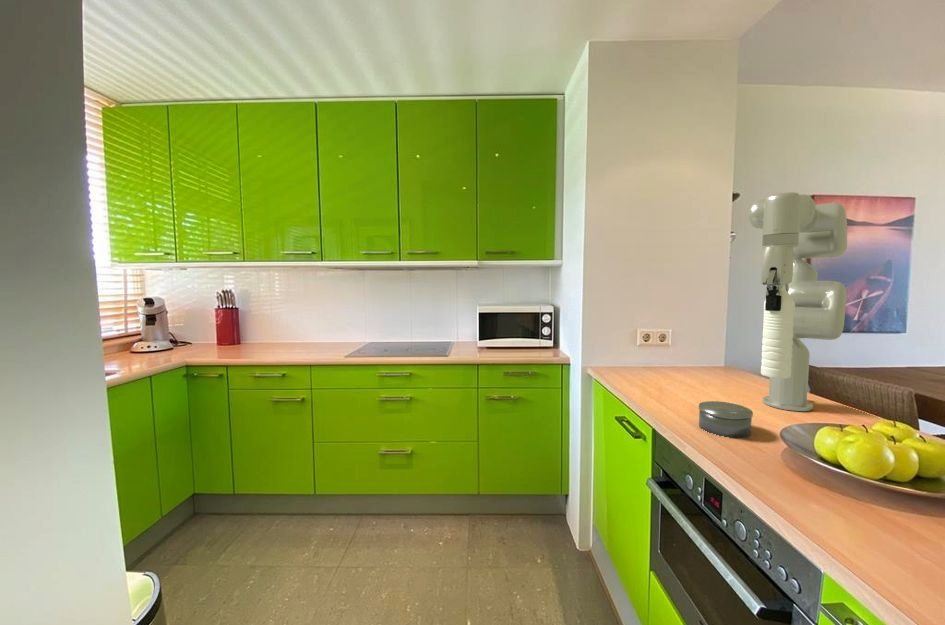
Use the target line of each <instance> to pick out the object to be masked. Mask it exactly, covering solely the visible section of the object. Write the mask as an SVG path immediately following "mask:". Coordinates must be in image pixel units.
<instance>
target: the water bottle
mask: <svg viewBox="0 0 945 625" xmlns="http://www.w3.org/2000/svg"><path fill="white" fill-rule="evenodd" d="M785 285H786V284H785ZM785 285H782V286H781V291H780V296H781V310H780V311H766V310H765V304H766V298H765V299H764V301H763V320H762V321H763V323H762V325H763V326H762V328H763V329H762V339H761V341H762V342H761V344H762V345H761V362H760V363H761V366H760V374H761V375H762V376H764V377H767V378H770V377H771V378H773V377H774V378H780V379H781V378H784V379H786V378H790V377H791V365H792V361H791V359H792V345H793V340H792V338H793V326H794V324H793V323H794V321H793V320H794V318H793V317H794V309H795V302H794V299H793V298H792V297H791V295H790V294H789V293H788V292H787V290H786V288H787V287H785Z"/></svg>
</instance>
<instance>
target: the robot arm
mask: <svg viewBox="0 0 945 625" xmlns="http://www.w3.org/2000/svg"><path fill="white" fill-rule="evenodd" d="M748 220H749V222H750V224H751V225H752V227H754V228H756V229H757V230H760V229H761V230H762V241H761V242H762V245H761V246H762V249H764V251H763V255H762V265H761V275H760V284H761V285H763V286H766V291H765V299H766V304H765V310H766V311H780V310H781V296H780V291H781V286H782V285H785V284H786V285H785V287H787V288H786V290H787V292H788V293H789V294H790V295H791V297H792V298H793V299H794V302H795V309H794V317H793V318H794V320H793V321H794V323H793V324H794V326H793V338H792V340H793V345H792V359H791V361H792V365H791V377H790V378H786V379H784V378H781V379H780V378H774V377H773V378H771V377H769V382H768V383H769V385H768V395H765V396H763V397H762V402H763V404H765V405H766V406H769V407H772V408H775V409H778V410H779V409H780V410H785V411H793V412H809V411H811V410H814V404H813V403H811V402H809V401H808V391H809V390H808V388H809V386H808V385H809V370H810V350H809V348H807V346H806V345H805V343H803V342H802V340H801V339H813V340H823V341H824V340H827V341H830V340H831V341H833V340H837V339H838V338H840V337H841V335H842V334H843V333H844V332H843V331H844V327H845V317H846V309H847V306H846V305H847V296H848V295H847V289H846V287H845V285H844V284H843V283H842V282H839V281H834V280H818V271H817V270H816V269H815V268H814V267H813V266H812V265H811V264H809V263H808V262H806V261H805V260H804V259H816V258H817V259H818V258H819V259H821V258H823V259H824V258H837V257H839V256H840V257H841V256H842V255H843V254H844V253H846V250H847V248H848V220H847V212H846V209H845V208H844V206H843V205H842V204H841V203H838V202H827V203H821V204H816V202H815V200H814V199H813V198H812V197H811V196H810V195H807V194H799V193H798V192H793V191H791V192H788V191H787V192H780V193H779V192H778V193H774V194H771V195H768V196H767V197H766V198H765V199H759V200H755V201H754V202H753V203H752V204H751V206H750V207H749V210H748Z"/></svg>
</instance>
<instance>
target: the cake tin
mask: <svg viewBox="0 0 945 625" xmlns="http://www.w3.org/2000/svg"><path fill="white" fill-rule="evenodd" d="M698 410H699V413H698V427H699V428H700V430H702V429H703V430H702V431H704V430H705V431H707V432H706V433H708V432H709V433H708V434H710V433H713V434H716V435H715V436H717V435H719V436H718V437H721V436H724V437H723V438H726V437H729V438H728V439H746V438H747V439H748V437H750V436H751V435H752V423H753V422H752V419H753V416H754V412H753V410H752V409H750V408H748V407H746V406H743V405H741V404H737V403H736V404H735V403H733V402H726V401H717V400H714V401H713V400H711V401H709V400H707V401H702V402H700V403H699V404H698ZM705 431H704V432H705ZM713 434H712V435H713Z"/></svg>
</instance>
